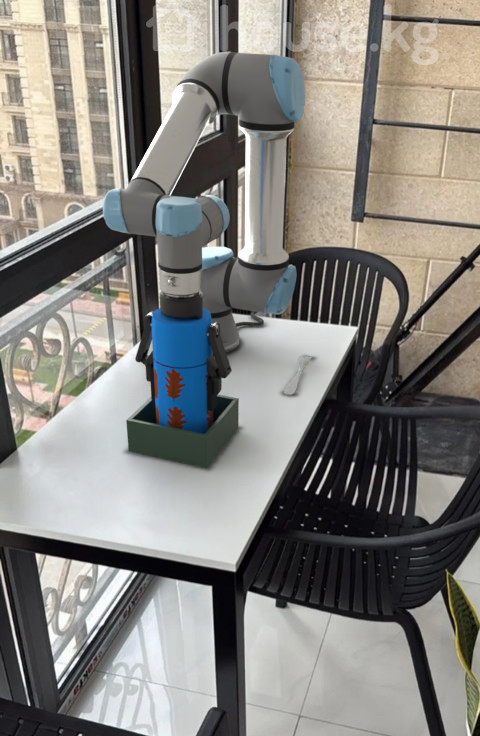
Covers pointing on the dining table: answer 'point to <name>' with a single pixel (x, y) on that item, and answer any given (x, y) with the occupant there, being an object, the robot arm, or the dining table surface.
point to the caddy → (182, 434)
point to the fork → (297, 375)
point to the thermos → (181, 371)
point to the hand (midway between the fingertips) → (184, 402)
